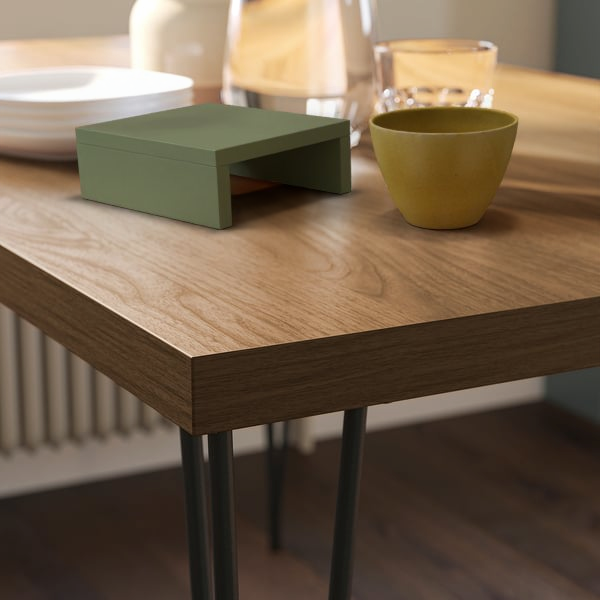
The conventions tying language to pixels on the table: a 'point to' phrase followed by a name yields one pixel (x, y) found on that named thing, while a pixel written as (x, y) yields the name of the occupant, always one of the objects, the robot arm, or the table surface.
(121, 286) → the table surface
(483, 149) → the flower pot
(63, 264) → the table surface
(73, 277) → the table surface
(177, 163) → the shelf
